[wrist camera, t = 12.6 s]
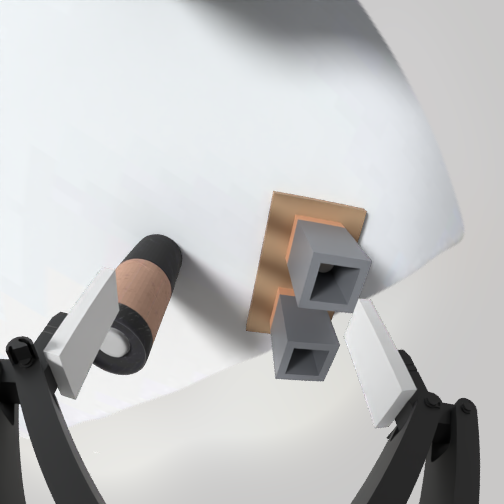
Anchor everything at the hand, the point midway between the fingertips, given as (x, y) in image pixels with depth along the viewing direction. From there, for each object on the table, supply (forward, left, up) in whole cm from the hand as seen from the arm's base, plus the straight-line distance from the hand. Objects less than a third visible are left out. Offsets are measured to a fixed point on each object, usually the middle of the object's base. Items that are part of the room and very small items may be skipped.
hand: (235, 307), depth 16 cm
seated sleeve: (+5, +11, -25) cm, 28 cm away
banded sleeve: (+16, +11, -25) cm, 32 cm away
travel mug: (+11, -10, -27) cm, 31 cm away
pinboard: (+10, +11, -27) cm, 30 cm away
